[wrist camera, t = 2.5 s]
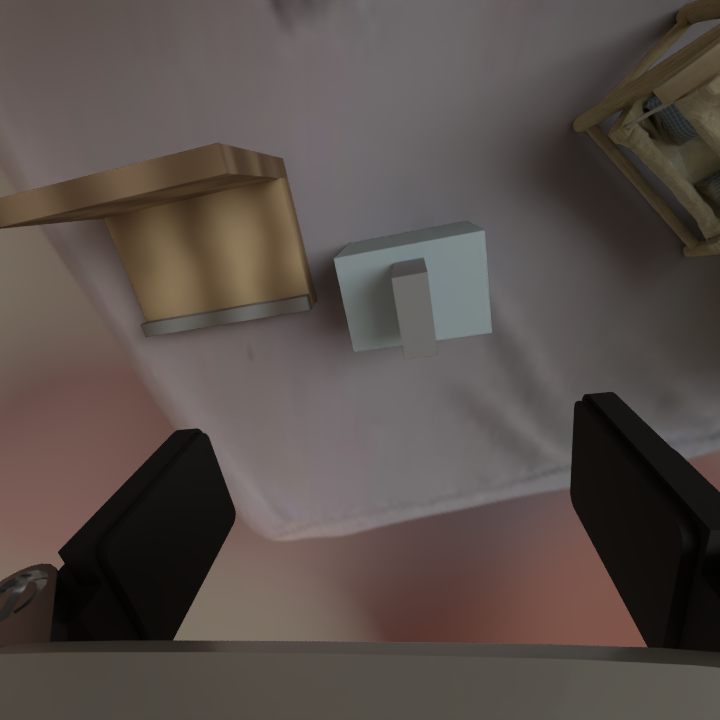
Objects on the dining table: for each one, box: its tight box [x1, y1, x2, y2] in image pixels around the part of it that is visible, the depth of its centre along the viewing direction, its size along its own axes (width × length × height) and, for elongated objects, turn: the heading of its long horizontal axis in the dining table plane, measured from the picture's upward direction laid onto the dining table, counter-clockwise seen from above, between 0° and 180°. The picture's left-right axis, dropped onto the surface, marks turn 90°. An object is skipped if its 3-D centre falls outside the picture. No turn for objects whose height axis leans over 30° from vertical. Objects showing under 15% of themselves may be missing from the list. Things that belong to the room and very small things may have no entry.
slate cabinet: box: [334, 221, 492, 359], centre depth 28 cm, size 10×7×13 cm
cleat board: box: [0, 143, 317, 337], centre depth 30 cm, size 16×12×12 cm
